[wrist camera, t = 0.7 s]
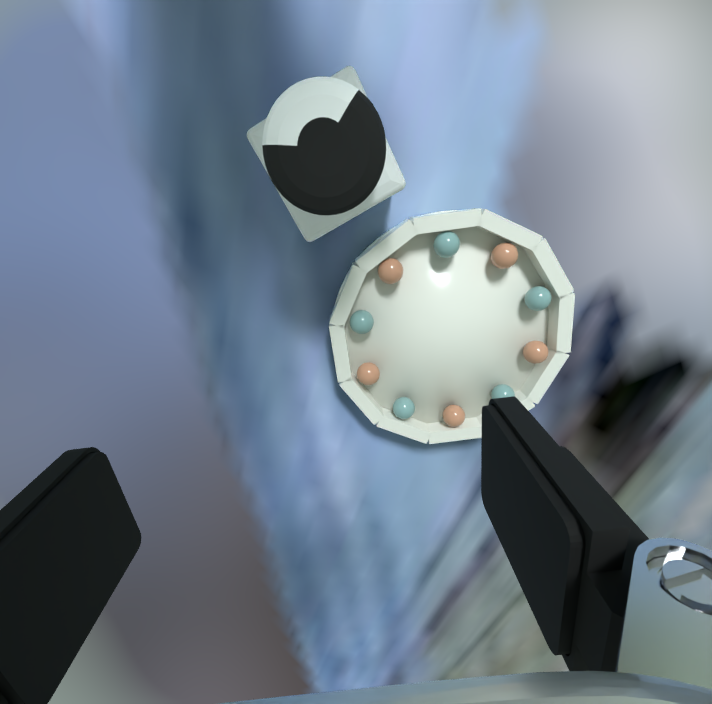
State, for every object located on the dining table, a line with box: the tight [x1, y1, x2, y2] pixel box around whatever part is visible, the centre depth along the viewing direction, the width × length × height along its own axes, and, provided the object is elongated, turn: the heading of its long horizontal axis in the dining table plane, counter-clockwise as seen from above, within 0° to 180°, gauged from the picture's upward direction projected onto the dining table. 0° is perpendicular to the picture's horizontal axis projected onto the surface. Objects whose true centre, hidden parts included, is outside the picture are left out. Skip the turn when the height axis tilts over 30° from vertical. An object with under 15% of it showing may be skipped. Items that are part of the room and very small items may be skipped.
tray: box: [329, 208, 575, 444], centre depth 33 cm, size 20×20×3 cm
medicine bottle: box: [247, 66, 406, 242], centre depth 24 cm, size 7×7×12 cm
